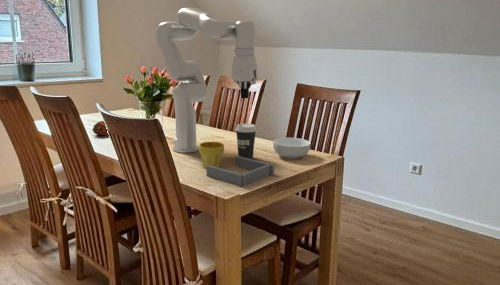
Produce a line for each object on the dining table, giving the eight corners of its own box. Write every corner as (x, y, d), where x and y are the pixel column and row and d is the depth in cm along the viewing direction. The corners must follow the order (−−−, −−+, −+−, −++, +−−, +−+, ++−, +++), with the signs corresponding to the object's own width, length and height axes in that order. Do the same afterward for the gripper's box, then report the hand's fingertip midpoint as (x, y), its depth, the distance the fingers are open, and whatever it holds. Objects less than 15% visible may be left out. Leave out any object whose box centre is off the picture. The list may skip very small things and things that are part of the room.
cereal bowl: (279, 162, 192) (280, 147, 190) (268, 152, 207) (268, 138, 206) (315, 160, 196) (316, 145, 194) (301, 150, 212) (302, 136, 210)
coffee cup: (234, 155, 202) (234, 123, 198) (255, 154, 203) (255, 123, 199) (235, 161, 193) (235, 127, 189) (257, 160, 194) (257, 127, 190)
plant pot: (226, 169, 181) (226, 146, 178) (201, 171, 178) (201, 148, 175) (221, 162, 190) (221, 140, 188) (197, 164, 187) (197, 142, 185)
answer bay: (205, 176, 172) (205, 166, 171) (238, 164, 188) (238, 155, 187) (242, 187, 161) (242, 176, 160) (275, 173, 177) (275, 164, 176)
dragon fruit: (101, 141, 230) (100, 139, 241) (114, 130, 232) (112, 129, 243) (90, 128, 227) (89, 127, 238) (103, 118, 229) (101, 117, 240)
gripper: (224, 52, 179) (225, 97, 183) (254, 53, 170) (253, 100, 174) (236, 52, 184) (236, 95, 189) (265, 53, 176) (264, 98, 180)
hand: (244, 97), depth 181 cm, fingers closed
